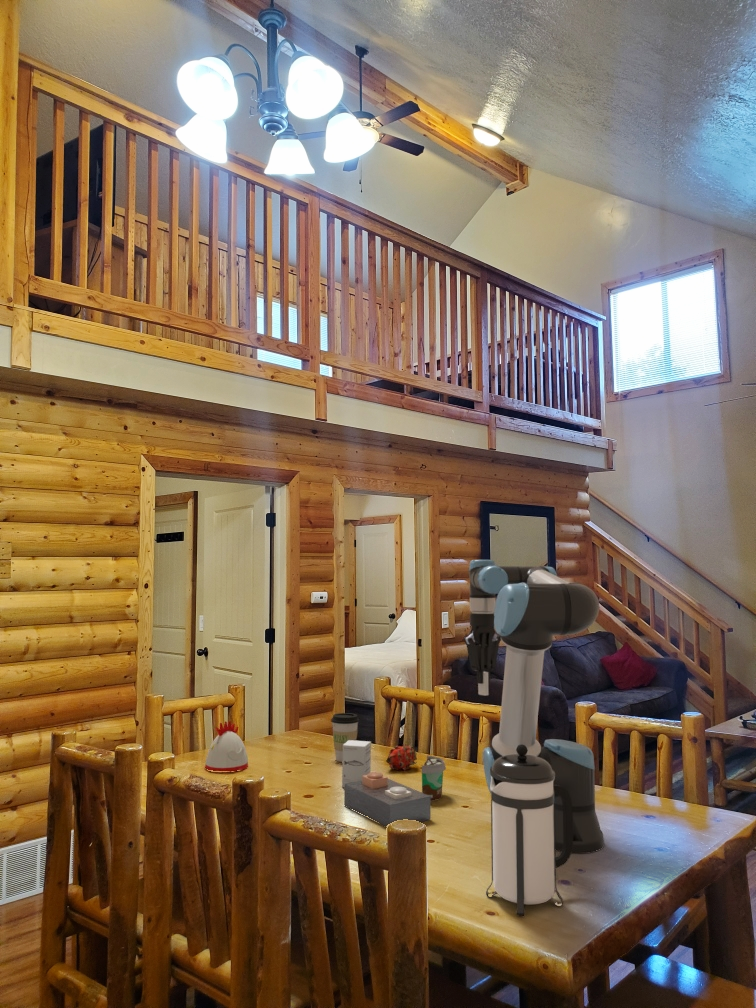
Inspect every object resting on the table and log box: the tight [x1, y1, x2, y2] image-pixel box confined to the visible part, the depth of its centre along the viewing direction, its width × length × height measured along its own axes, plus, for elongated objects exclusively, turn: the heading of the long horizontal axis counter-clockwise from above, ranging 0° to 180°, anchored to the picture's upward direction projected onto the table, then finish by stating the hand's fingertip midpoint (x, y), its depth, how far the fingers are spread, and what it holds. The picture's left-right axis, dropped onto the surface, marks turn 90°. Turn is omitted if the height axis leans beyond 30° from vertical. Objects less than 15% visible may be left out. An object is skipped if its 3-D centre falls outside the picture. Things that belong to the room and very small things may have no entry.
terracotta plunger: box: [362, 771, 389, 789], centre depth 199 cm, size 5×5×7 cm
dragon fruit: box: [385, 743, 417, 772], centre depth 238 cm, size 8×8×12 cm
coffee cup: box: [330, 712, 360, 763], centre depth 251 cm, size 10×10×15 cm
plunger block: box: [343, 778, 432, 828], centre depth 195 cm, size 22×13×6 cm, turn 34°
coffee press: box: [485, 744, 573, 917], centre depth 145 cm, size 17×16×30 cm
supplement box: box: [341, 740, 372, 788], centre depth 220 cm, size 7×7×13 cm
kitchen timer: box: [204, 720, 249, 771], centre depth 240 cm, size 14×14×15 cm
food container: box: [421, 755, 446, 802], centre depth 209 cm, size 12×6×10 cm, turn 168°
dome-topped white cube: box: [385, 787, 411, 799], centre depth 190 cm, size 5×5×7 cm
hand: (483, 694), depth 209 cm, fingers closed
